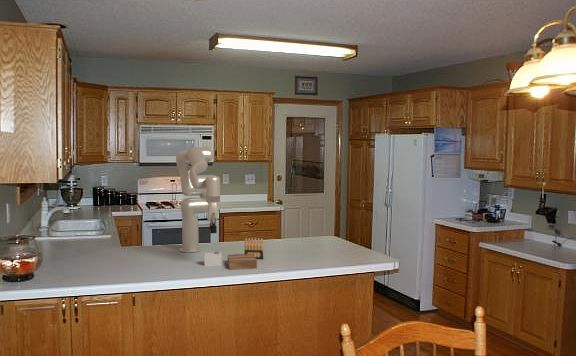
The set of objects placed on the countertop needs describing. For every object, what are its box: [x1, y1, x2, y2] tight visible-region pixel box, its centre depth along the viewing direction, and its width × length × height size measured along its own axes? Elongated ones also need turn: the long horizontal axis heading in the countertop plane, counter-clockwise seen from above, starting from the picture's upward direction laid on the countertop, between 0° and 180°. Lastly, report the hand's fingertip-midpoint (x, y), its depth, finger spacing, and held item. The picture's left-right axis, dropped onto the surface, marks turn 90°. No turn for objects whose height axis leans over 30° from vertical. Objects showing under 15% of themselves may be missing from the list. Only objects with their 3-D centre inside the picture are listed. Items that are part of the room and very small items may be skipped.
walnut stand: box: [227, 253, 258, 270], centre depth 269 cm, size 16×14×4 cm
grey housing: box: [203, 251, 223, 267], centre depth 270 cm, size 5×9×7 cm, turn 101°
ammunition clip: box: [243, 237, 264, 260], centre depth 284 cm, size 11×2×12 cm, turn 86°
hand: (213, 231), depth 269 cm, fingers open, 9 cm apart
